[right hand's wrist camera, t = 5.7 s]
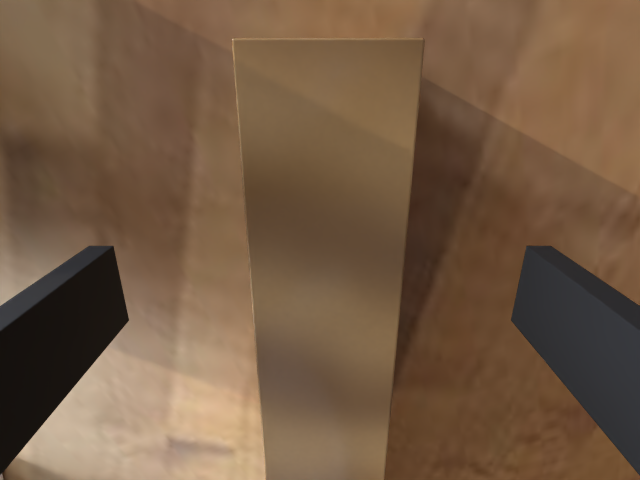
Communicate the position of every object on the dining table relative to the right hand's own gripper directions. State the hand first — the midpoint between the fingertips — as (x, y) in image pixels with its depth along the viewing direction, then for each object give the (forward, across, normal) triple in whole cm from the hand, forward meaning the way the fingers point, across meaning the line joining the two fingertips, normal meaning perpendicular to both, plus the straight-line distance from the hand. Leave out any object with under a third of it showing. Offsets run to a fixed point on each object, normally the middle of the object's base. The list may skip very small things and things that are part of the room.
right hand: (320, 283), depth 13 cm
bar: (+10, 0, -27) cm, 28 cm away
